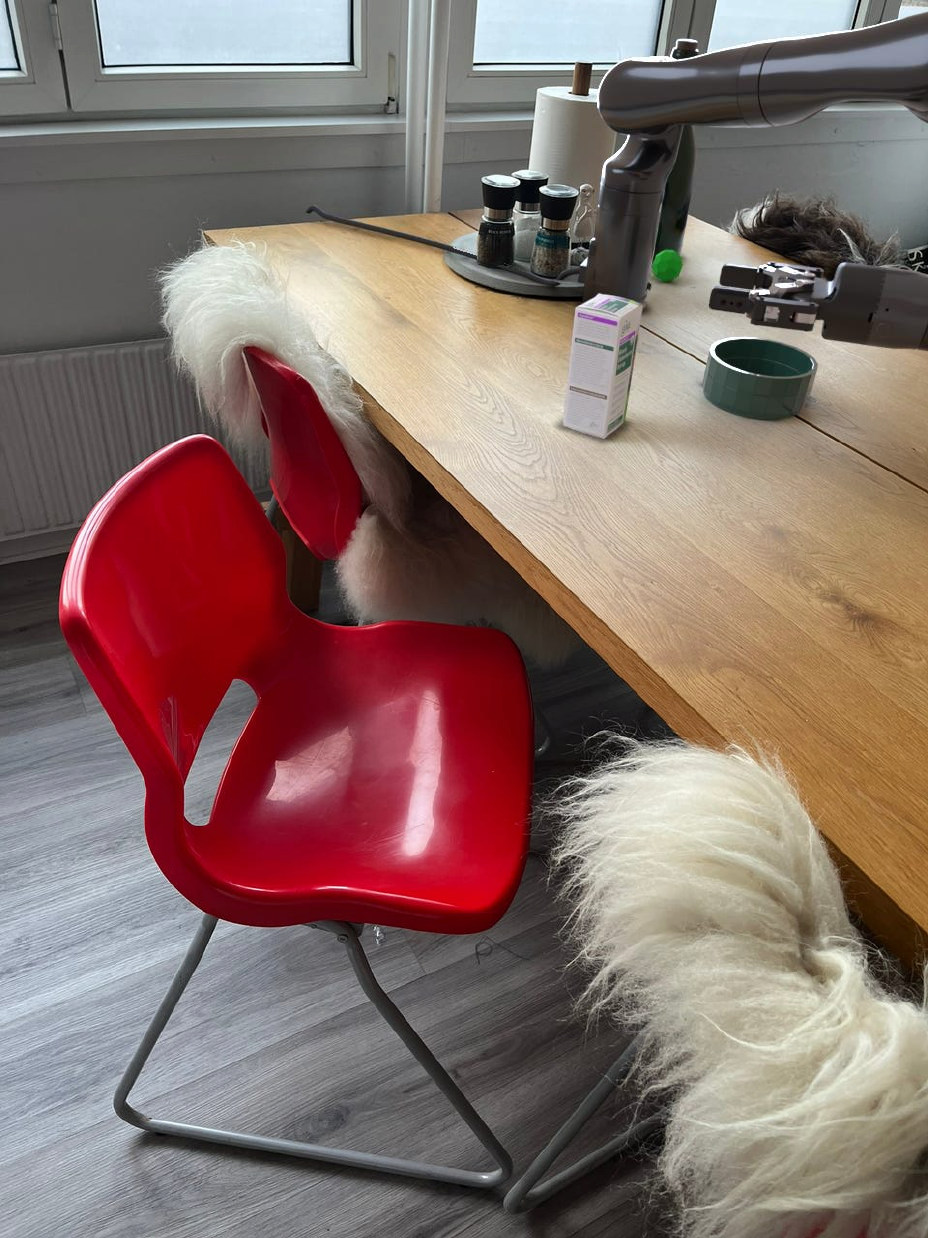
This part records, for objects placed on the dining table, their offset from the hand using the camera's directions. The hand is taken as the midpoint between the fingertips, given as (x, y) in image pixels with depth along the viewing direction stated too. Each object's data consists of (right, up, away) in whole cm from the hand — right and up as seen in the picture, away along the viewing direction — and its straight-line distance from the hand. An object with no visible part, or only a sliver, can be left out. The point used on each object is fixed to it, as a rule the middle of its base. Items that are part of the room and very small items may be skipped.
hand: (715, 285), depth 99 cm
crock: (+11, -7, +22) cm, 26 cm away
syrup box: (-11, -12, +14) cm, 21 cm away
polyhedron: (+7, +21, +59) cm, 63 cm away
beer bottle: (+7, +30, +70) cm, 77 cm away
